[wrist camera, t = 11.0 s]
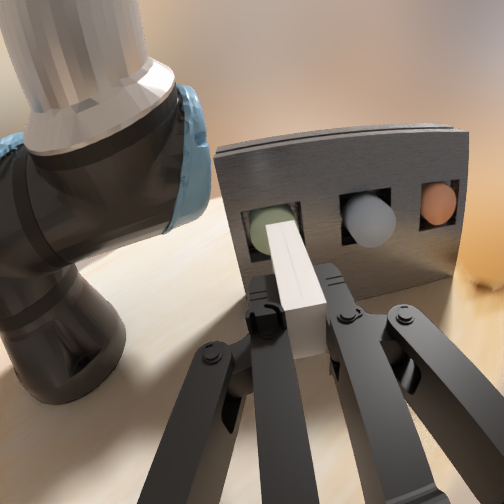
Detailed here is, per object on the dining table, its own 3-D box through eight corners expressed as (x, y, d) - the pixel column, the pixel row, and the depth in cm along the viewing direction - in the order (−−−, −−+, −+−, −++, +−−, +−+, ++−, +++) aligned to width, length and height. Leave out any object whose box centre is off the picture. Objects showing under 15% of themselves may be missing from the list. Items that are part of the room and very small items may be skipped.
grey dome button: (352, 251, 24) (351, 206, 22) (343, 237, 26) (341, 195, 24) (394, 243, 23) (396, 199, 21) (383, 230, 26) (383, 189, 24)
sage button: (254, 259, 25) (245, 216, 23) (253, 245, 28) (245, 204, 26) (301, 250, 25) (296, 207, 23) (296, 237, 27) (291, 196, 25)
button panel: (252, 320, 29) (213, 158, 21) (250, 290, 33) (217, 147, 25) (453, 275, 28) (468, 131, 20) (432, 253, 32) (439, 123, 24)
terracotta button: (423, 228, 25) (425, 187, 23) (410, 217, 27) (412, 179, 25) (453, 222, 24) (457, 183, 22) (440, 212, 27) (443, 175, 25)
